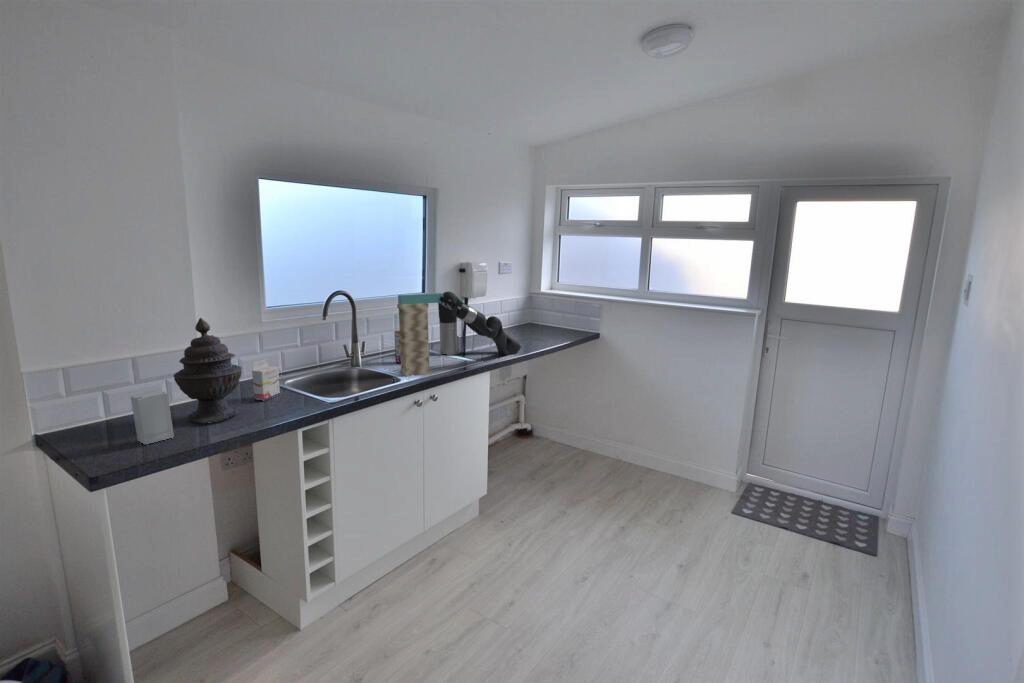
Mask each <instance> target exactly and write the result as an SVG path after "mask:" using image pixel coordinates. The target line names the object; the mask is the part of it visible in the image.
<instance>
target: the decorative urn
mask: <svg viewBox="0 0 1024 683" xmlns="http://www.w3.org/2000/svg"><path fill="white" fill-rule="evenodd" d="M194 330H195V331H196V332H198V333H200V335H201V336H198V337H195V338H192V339H191V341H190V345H189V346H188V347H186V348H185V349H184V351H183V355H184V357H182V358H181V359H179V361H178V362H179V364H182V365H183V368H182V369H180V370H178V371H177V372H175V373H174V374H173V377H174V378H173V379H174V382H175V384H176V385H177V386H178V387H179V390H180V391H181V392H182V393H184V395H186V396H187V397H188V398H189V399H191V400H197V408H196V411H195V410H194V411H192V412H191V413H189V414H187V415H186V420H188V421H190V422H192V423H194V422H196V423H195V424H206V423H208V422H215V421H219V422H221V421H220V420H223V421H225V420H224V419H227V418H229V417H232V416H233V417H235V416H236V415H238V414H239V409H238V408H237V407H233V406H229V404H228V402H227V400H226V398H225V397H227V396H229V395H230V394H232V393H233V392H234V390H235V389H236V387H237V386H238V385H239V383H240V379H241V377H242V370H243V367H242V366H240V365H237V364H232V358H234V357H235V356H236V355H235V354H234V353H231V352H229V349H228V345H226V344H225V343H221V342H222V341H221V339H220V337H218V336H215V335H212V334H211V335H208V334H207V333H208V332H209V331H210V330H211V326H210V324H209V322H207V321H206V320H205V319H203V318H202V317H199V319H198V321H197V322H196V325H195V327H194ZM234 415H235V416H234ZM233 417H232V418H233ZM227 420H228V419H227ZM208 424H209V423H208Z"/></svg>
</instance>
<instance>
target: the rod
mask: <svg viewBox="0 0 1024 683" xmlns="http://www.w3.org/2000/svg"><path fill="white" fill-rule="evenodd" d="M443 293H444V292H432V293H431V292H430V293H412V294H410V293H409V294H397V301H398V303H397V304H400V305H408V304H424V303H428V304H438V303H441V301H439V299H440V297H441V296H442V297H444V295H443Z"/></svg>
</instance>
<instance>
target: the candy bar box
mask: <svg viewBox="0 0 1024 683" xmlns="http://www.w3.org/2000/svg"><path fill="white" fill-rule="evenodd" d="M394 353H395V355H394V356H395V363H396V362H401V354H400V330H399V328H398V329H396V330H394Z"/></svg>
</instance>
